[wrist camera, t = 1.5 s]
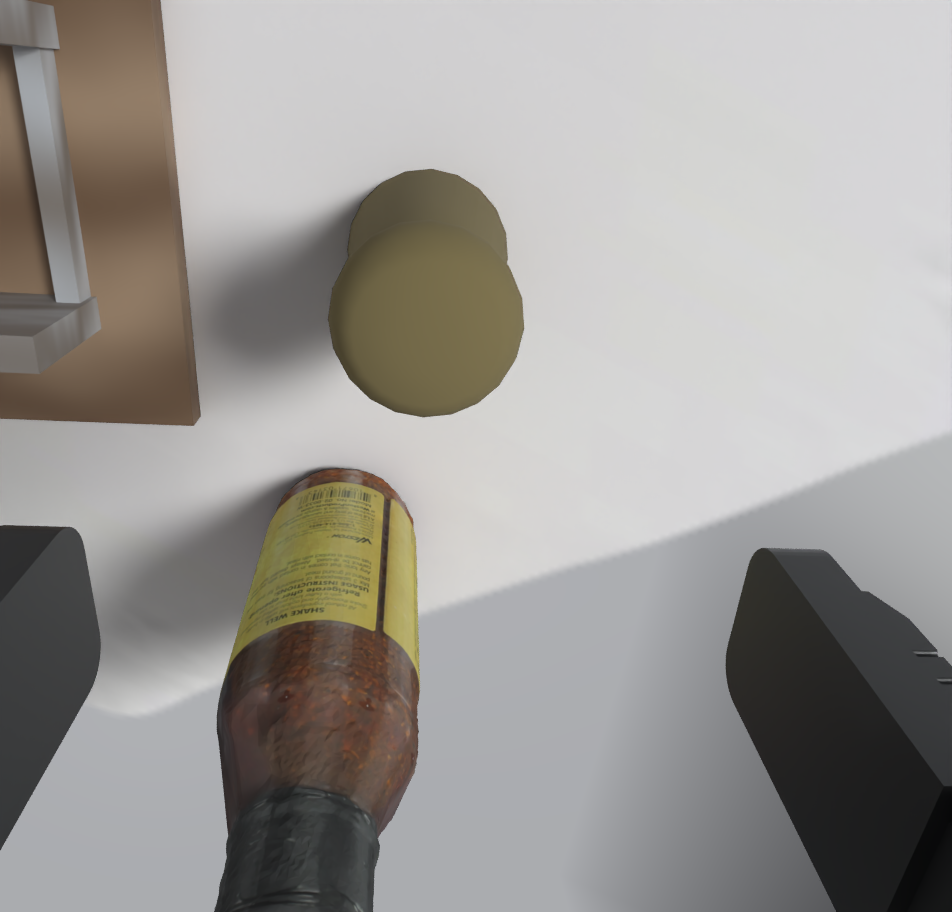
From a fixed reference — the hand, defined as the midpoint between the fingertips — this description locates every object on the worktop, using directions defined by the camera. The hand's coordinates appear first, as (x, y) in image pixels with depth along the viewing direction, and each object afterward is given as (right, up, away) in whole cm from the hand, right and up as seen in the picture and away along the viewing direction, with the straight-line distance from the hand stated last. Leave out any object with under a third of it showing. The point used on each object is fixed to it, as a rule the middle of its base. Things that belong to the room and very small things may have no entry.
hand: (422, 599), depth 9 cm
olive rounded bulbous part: (-1, +9, +20) cm, 22 cm away
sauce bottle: (-5, -1, +25) cm, 25 cm away
